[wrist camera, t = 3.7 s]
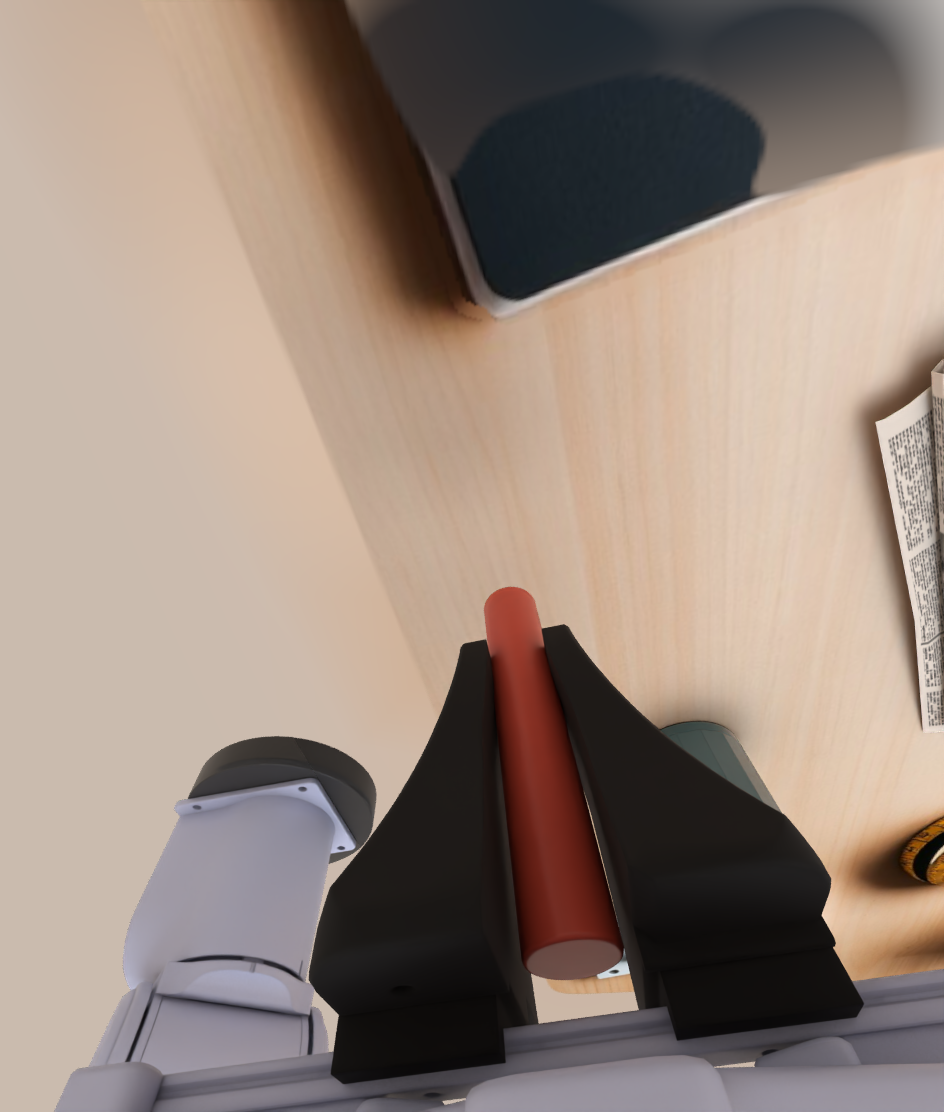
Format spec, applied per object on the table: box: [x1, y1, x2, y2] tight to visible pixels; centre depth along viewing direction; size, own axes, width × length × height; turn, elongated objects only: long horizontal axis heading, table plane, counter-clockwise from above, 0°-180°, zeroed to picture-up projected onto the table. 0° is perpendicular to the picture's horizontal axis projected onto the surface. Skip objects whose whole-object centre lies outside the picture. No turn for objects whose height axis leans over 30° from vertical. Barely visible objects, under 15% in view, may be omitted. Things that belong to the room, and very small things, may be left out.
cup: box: [661, 721, 782, 813], centre depth 26 cm, size 6×6×5 cm
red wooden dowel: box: [484, 587, 624, 980], centre depth 11 cm, size 2×2×9 cm
